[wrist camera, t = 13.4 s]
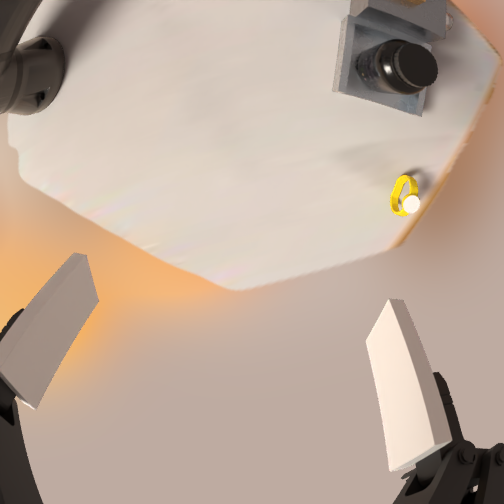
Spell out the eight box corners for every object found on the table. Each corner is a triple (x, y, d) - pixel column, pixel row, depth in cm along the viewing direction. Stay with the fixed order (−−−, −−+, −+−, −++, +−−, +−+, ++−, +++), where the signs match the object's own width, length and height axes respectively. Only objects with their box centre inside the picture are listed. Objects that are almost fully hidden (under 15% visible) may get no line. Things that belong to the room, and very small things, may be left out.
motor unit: (332, 91, 32) (353, 90, 22) (346, -31, 20) (366, -63, 11) (420, 117, 32) (462, 130, 22) (433, 2, 20) (471, -13, 11)
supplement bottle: (390, 43, 26) (433, 30, 16) (408, 87, 29) (454, 91, 19) (347, 53, 28) (378, 39, 18) (367, 98, 31) (403, 104, 21)
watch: (397, 206, 40) (410, 226, 35) (382, 201, 40) (394, 221, 35) (411, 174, 36) (427, 190, 32) (397, 168, 36) (412, 183, 31)
